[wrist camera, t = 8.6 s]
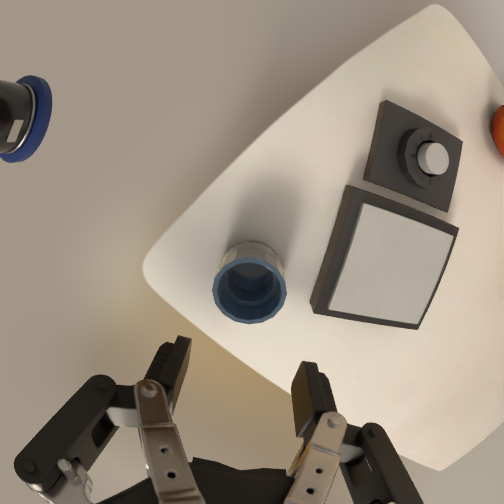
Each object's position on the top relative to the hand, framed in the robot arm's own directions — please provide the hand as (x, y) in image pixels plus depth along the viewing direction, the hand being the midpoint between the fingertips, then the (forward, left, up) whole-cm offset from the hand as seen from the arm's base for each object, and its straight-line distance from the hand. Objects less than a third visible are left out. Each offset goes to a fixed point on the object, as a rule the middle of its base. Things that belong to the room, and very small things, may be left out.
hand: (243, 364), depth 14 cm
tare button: (+13, +15, -11) cm, 23 cm away
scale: (+13, +4, -14) cm, 19 cm away
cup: (0, 0, -14) cm, 14 cm away
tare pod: (+13, +15, -14) cm, 24 cm away
